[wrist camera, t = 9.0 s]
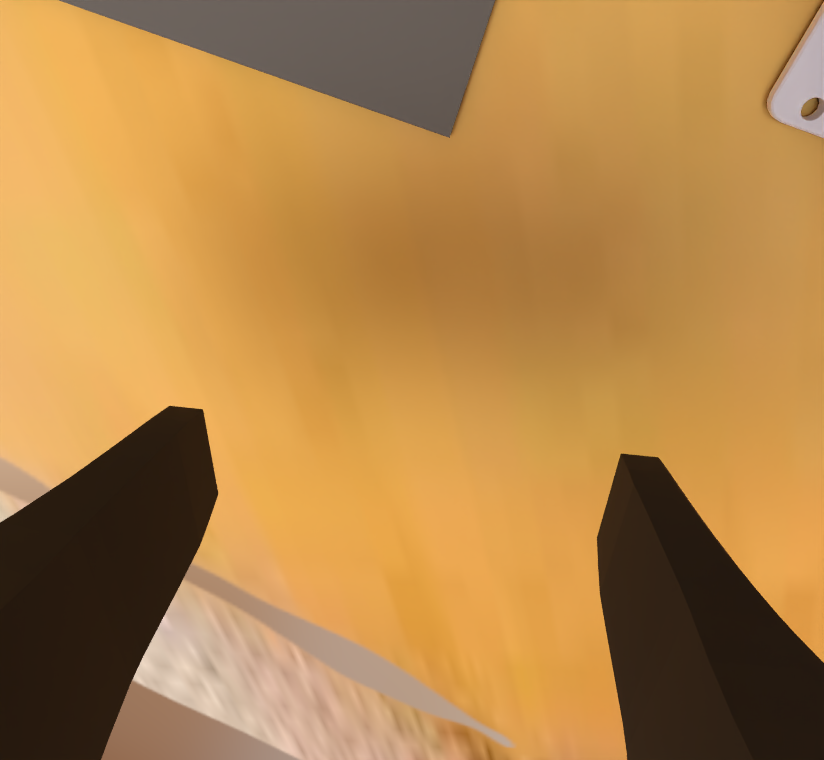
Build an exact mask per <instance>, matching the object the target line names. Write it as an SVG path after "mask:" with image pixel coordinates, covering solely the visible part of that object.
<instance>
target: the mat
mask: <svg viewBox="0 0 824 760" xmlns="http://www.w3.org/2000/svg"><path fill="white" fill-rule="evenodd" d="M60 1H62V2H65V3H68V4H71V5H74V6H77V7H80V8H82V9H85V10H88V11H91V12H94V13H97V14H99V15H102V16H105V17H108V18H111V19H114V20H116V21H119V22H122V23H125V24H128V25H131V26H134V27H136V28H139V29H142V30H145V31H148V32H151V33H153V34H156V35H159V36H162V37H165V38H168V39H170V40H173V41H176V42H179V43H182V44H185V45H188V46H190V47H193V48H196V49H199V50H202V51H205V52H207V53H210V54H213V55H216V56H219V57H222V58H224V59H227V60H230V61H233V62H236V63H239V64H241V65H244V66H247V67H250V68H253V69H256V70H259V71H261V72H264V73H267V74H270V75H273V76H276V77H278V78H281V79H284V80H287V81H290V82H293V83H295V84H298V85H301V86H304V87H307V88H310V89H313V90H315V91H318V92H321V93H324V94H327V95H330V96H332V97H335V98H338V99H341V100H344V101H347V102H349V103H352V104H355V105H358V106H361V107H364V108H367V109H369V110H372V111H375V112H378V113H381V114H384V115H386V116H389V117H392V118H395V119H398V120H401V121H403V122H406V123H409V124H412V125H415V126H418V127H420V128H423V129H426V130H429V131H432V132H435V133H438V134H440V135H443V136H446V137H449V138H450V135H451V132H452V129H453V126H454V123H455V120H456V117H457V114H458V111H459V108H460V105H461V101H462V98H463V95H464V92H465V89H466V86H467V83H468V80H469V77H470V74H471V71H472V68H473V65H474V62H475V59H476V56H477V53H478V50H479V47H480V44H481V41H482V38H483V35H484V32H485V29H486V26H487V23H488V20H489V17H490V14H491V11H492V8H493V5H494V2H495V0H60Z"/></svg>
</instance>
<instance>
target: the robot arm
mask: <svg viewBox="0 0 824 760" xmlns="http://www.w3.org/2000/svg"><path fill="white" fill-rule="evenodd" d="M812 98H818V99H819V105H818V108H817V110H816V111H815V112H814V113H813V114H811V115H809V116H806V117H805V116H801V109H802V106H803V105H804V104H805V103H806V102H807V100H809V99H812ZM767 109H768V111H769V113H770V115H771V116H772V117H774V118H775V119H776V120H778V121H779V122H781V123H784V124H787V125H789V126H792V127H795V128H797V129H800V130H803V131H806V132H808V133H811V134H814V135H816V136H819V137H822V138H824V2H823V4H822V5H821V7H820V9H819V10H818V12H817V14H816V15H815V17H814V19H813V21H812V22H811V24H810V26H809V27H808V29H807V31H806V32H805V34H804V36H803V37H802V39H801V41H800V42H799V44H798V46H797V48H796V49H795V51H794V53H793V54H792V56H791V58H790V59H789V61H788V63H787V64H786V66H785V68H784V70H783V71H782V73H781V75H780V76H779V78H778V80H777V81H776V83H775V85H774V86H773V88H772V90H771V91H770V94H769V96H768V99H767ZM217 496H218V490H217V484H216V479H215V473H214V468H213V462H212V457H211V451H210V446H209V440H208V435H207V429H206V424H205V418H204V413H203V409H194V408H185V407H175V406H169V407H167V408H166V409H164V410H163V411H161V412H160V413H158V414H157V415H156V416H154V417H153V418H151V419H150V420H149V421H147V422H146V423H145V424H143V425H142V426H140V427H139V428H138V429H136V430H135V431H134V432H132V433H131V434H130V435H128V436H127V437H125V438H124V439H123V440H121V441H120V442H119V443H117V444H116V445H115V446H113V447H112V448H110V449H109V450H108V451H106V452H105V453H104V454H102V455H101V456H99V457H98V458H97V459H95V460H94V461H92V462H91V463H90V464H88V465H87V466H85V467H84V468H83V469H81V470H80V471H78V472H77V473H76V474H74V475H73V476H71V477H70V478H68V479H67V480H65V481H64V482H62V483H61V484H59V485H58V486H56V487H55V488H53V489H52V490H50V491H49V492H47V493H46V494H44V495H43V496H41V497H39V498H38V499H36V500H35V501H33V502H32V503H30V504H29V505H27V506H26V507H24V508H23V509H21V510H20V511H18V512H17V513H15V514H14V515H12V516H10V517H9V518H7V519H5V520H4V521H2V522H0V760H101V758H102V755H103V753H104V750H105V747H106V744H107V742H108V739H109V736H110V734H111V731H112V729H113V726H114V724H115V721H116V719H117V716H118V714H119V711H120V709H121V706H122V704H123V701H124V699H125V696H126V694H127V691H128V689H129V686H130V684H131V681H132V679H133V677H134V675H135V673H136V671H137V668H138V666H139V664H140V662H141V660H142V658H143V656H144V654H145V652H146V650H147V648H148V646H149V644H150V642H151V640H152V638H153V636H154V634H155V632H156V630H157V629H158V627H159V625H160V623H161V621H162V619H163V617H164V615H165V613H166V611H167V609H168V607H169V605H170V603H171V601H172V600H173V598H174V596H175V594H176V592H177V590H178V588H179V586H180V584H181V582H182V580H183V578H184V576H185V574H186V572H187V570H188V568H189V566H190V564H191V562H192V560H193V558H194V556H195V554H196V552H197V550H198V548H199V546H200V544H201V541H202V539H203V536H204V533H205V531H206V528H207V525H208V523H209V520H210V517H211V514H212V511H213V508H214V505H215V502H216V499H217ZM597 547H598V570H599V586H600V597H601V603H602V609H603V615H604V620H605V626H606V632H607V638H608V643H609V649H610V654H611V660H612V665H613V671H614V677H615V682H616V688H617V693H618V699H619V704H620V710H621V716H622V721H623V728H624V735H625V743H626V750H627V760H824V663H823V662H822V661H821V660H820V659H819V658H818V657H817V656H816V655H815V654H814V653H813V652H812V650H811V649H810V648H809V647H808V646H807V645H806V644H805V643H804V642H803V641H802V640H801V639H800V638H799V637H798V636H797V635H796V634H795V633H794V632H793V631H792V630H791V629H790V628H789V626H788V625H787V624H786V623H785V622H784V621H783V620H782V619H781V618H780V617H779V615H778V614H777V613H776V612H775V611H774V610H773V608H772V607H771V606H770V605H769V604H768V603H767V601H766V600H765V599H764V598H763V597H762V596H761V594H760V593H759V592H758V591H757V590H756V588H755V587H754V586H753V585H752V584H751V582H750V581H749V580H748V579H747V577H746V576H745V575H744V574H743V572H742V571H741V570H740V569H739V568H738V566H737V565H736V564H735V562H734V561H733V560H732V558H731V557H730V556H729V554H728V553H727V552H726V551H725V549H724V548H723V547H722V545H721V544H720V543H719V541H718V540H717V539H716V538H715V536H714V535H713V534H712V532H711V531H710V529H709V528H708V527H707V525H706V524H705V523H704V521H703V520H702V518H701V517H700V516H699V514H698V513H697V511H696V510H695V509H694V507H693V506H692V504H691V503H690V502H689V500H688V499H687V497H686V496H685V494H684V493H683V492H682V490H681V489H680V487H679V486H678V484H677V483H676V481H675V480H674V478H673V477H672V476H671V474H670V473H669V471H668V470H667V468H666V467H665V466H664V464H663V463H662V462H661V460H660V459H659V458H658V457H648V456H639V455H629V454H621V455H620V459H619V462H618V466H617V469H616V473H615V476H614V480H613V483H612V487H611V490H610V494H609V497H608V501H607V505H606V508H605V512H604V515H603V519H602V522H601V526H600V529H599V533H598V536H597Z"/></svg>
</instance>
